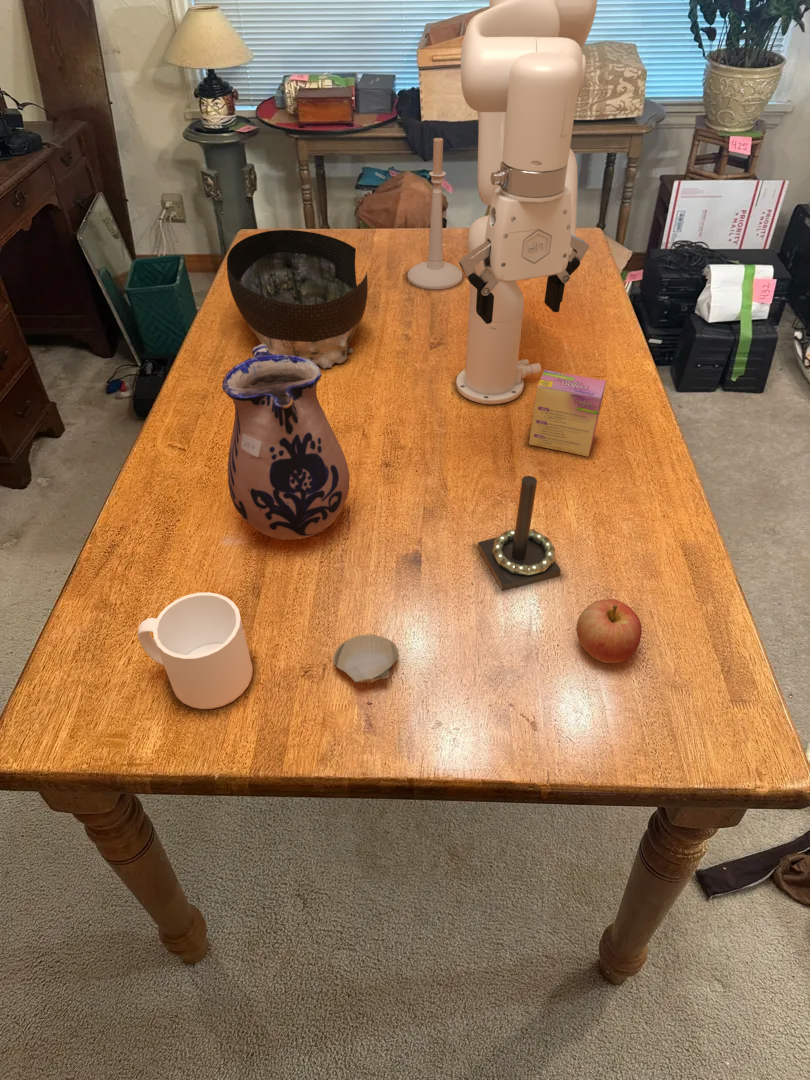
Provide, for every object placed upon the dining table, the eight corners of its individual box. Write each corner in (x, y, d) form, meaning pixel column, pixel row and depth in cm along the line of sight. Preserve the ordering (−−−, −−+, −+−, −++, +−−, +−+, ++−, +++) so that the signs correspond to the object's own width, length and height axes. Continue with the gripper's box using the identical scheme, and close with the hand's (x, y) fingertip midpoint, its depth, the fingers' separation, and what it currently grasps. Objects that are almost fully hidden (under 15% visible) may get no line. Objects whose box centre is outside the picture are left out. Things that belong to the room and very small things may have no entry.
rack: (532, 534, 114) (545, 453, 104) (559, 575, 108) (576, 494, 97) (477, 547, 112) (484, 466, 102) (501, 590, 106) (511, 509, 95)
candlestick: (463, 289, 172) (471, 146, 151) (407, 289, 172) (406, 146, 151) (461, 265, 181) (468, 127, 160) (407, 264, 181) (407, 127, 161)
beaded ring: (537, 528, 113) (539, 521, 112) (564, 568, 107) (566, 561, 106) (483, 541, 111) (483, 534, 110) (507, 582, 105) (508, 576, 104)
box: (594, 438, 131) (606, 379, 123) (589, 457, 127) (601, 397, 119) (535, 427, 134) (543, 368, 126) (528, 445, 130) (536, 386, 122)
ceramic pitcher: (260, 574, 108) (231, 431, 91) (215, 489, 122) (183, 350, 104) (371, 535, 114) (364, 393, 97) (316, 458, 128) (302, 321, 110)
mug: (260, 647, 99) (249, 594, 92) (242, 713, 92) (228, 661, 85) (166, 641, 100) (147, 588, 93) (141, 706, 93) (118, 654, 85)
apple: (580, 617, 102) (590, 577, 97) (639, 635, 100) (653, 594, 95) (565, 662, 97) (575, 621, 92) (628, 681, 95) (642, 641, 89)
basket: (377, 295, 170) (375, 222, 159) (363, 380, 145) (359, 300, 134) (252, 292, 171) (241, 220, 160) (216, 376, 146) (200, 297, 135)
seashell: (390, 649, 101) (330, 644, 99) (395, 631, 99) (334, 626, 97) (397, 694, 94) (333, 689, 92) (402, 676, 92) (338, 671, 91)
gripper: (476, 198, 84) (468, 337, 96) (614, 180, 88) (590, 316, 100) (452, 175, 90) (447, 310, 101) (584, 160, 93) (564, 291, 105)
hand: (518, 313), depth 101 cm, fingers open, 9 cm apart
